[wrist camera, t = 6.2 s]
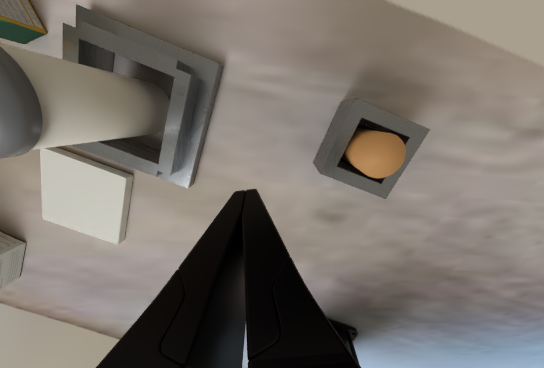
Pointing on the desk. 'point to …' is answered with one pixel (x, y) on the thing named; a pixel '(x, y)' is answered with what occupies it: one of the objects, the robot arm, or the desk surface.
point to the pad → (84, 194)
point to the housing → (183, 103)
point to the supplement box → (10, 259)
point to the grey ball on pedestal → (71, 103)
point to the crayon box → (19, 21)
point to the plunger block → (342, 133)
